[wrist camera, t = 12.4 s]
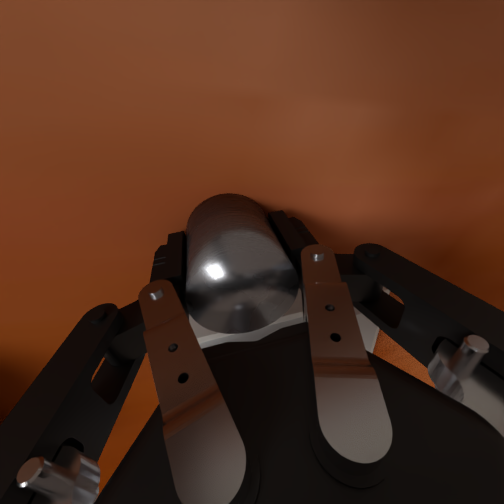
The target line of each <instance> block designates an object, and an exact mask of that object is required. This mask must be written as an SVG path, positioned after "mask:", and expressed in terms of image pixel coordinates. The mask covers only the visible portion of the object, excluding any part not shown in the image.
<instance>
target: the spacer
mask: <svg viewBox="0 0 504 504" xmlns="http://www.w3.org/2000/svg"><path fill="white" fill-rule="evenodd" d="M298 290H299V279H298V275H297V272H296V270H295V268H294V267H293V265H292V263H291V261H290V259H289V257H288V256H287V254H286V252H285V250H284V248H283V247H282V245H281V243H280V241H279V239H278V237H277V236H276V234H275V232H274V230H273V228H272V227H271V225H270V223H269V221H268V219H267V218H266V216H265V214H264V212H263V210H262V209H261V208H260V206H259V205H258V204H257V203H256V202H254V201H253V200H251V199H250V198H248V197H245V196H243V195H239V194H232V193H227V194H219V195H216V196H213V197H210V198H208V199H206V200H205V201H203V202H202V203H200V204H199V205H198V206H197V207H196V208H195V209H194V211H193V212H192V213H191V215H190V217H189V220H188V222H187V228H186V306H187V309H188V312H189V314H190V315H191V317H192V318H193V319H194V320H195V321H196V322H197V323H198V324H199V325H201V326H202V327H204V328H206V329H208V330H211V331H214V332H218V333H224V334H240V333H247V332H252V331H255V330H258V329H261V328H263V327H266V326H268V325H270V324H271V323H273V322H275V321H276V320H278V319H279V318H280V317H281V316H283V315H284V314H285V313H286V312H287V311H288V310H289V308H290V307H291V306H292V304H293V303H294V301H295V299H296V296H297V294H298Z"/></svg>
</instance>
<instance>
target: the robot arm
mask: <svg viewBox="0 0 504 504" xmlns="http://www.w3.org/2000/svg"><path fill="white" fill-rule="evenodd" d="M268 220H269V223H270V225H271V227H272V228H273V230H274V232H275V234H276V236H277V237H278V239H279V241H280V243H281V245H282V247H283V248H284V250H285V252H286V254H287V256H288V257H289V259H290V261H291V263H292V265H293V267H294V268H295V270H296V272H297V275H298V279H299V288H300V290H301V299H302V312H303V323H299V324H295V325H291V326H287V327H283V328H281V329H279V330H277V331H275V332H273V333H271V334H269V335H267V336H265V337H263V338H262V339H260V340H257V341H243V342H225V343H221V344H217V345H213V346H210V347H206V348H202V349H201V347H200V345H199V343H198V340H197V338H196V336H195V334H194V331H193V329H192V327H191V325H190V322H189V312H188V309H187V306H186V236H185V233H184V232H183V231H181V232H176V233H172V234H169V235H168V242H167V244H166V245H161V246H160V247H159V248H158V249H157V251H156V252H155V256H154V261H153V267H152V272H151V278H150V283H149V284H147V285H146V286H145V287H144V288H142V290H141V291H140V293H139V295H138V300H137V301H135V302H133V303H131V304H129V305H127V306H125V307H123V308H120V309H118V308H117V306H116V305H114V304H111V303H106V304H102V305H99V306H96V307H94V308H93V309H91V310H90V311H88V312H87V313H86V314H85V315H84V316H83V317H82V318H81V320H80V321H79V322H78V324H77V325H76V326H75V328H74V329H73V330H72V332H71V333H70V334H69V335H68V337H67V338H66V339H65V341H64V342H63V343H62V345H61V346H60V347H59V349H58V350H57V351H56V353H55V354H54V355H53V357H52V358H51V359H50V361H49V362H48V363H47V365H46V366H45V367H44V368H43V370H42V371H41V372H40V374H39V375H38V376H37V378H36V379H35V380H34V382H33V383H32V384H31V386H30V387H29V388H28V390H27V391H26V392H25V394H24V395H23V396H22V398H21V399H20V400H19V402H18V403H17V404H16V405H15V407H14V408H13V409H12V411H11V412H10V413H9V415H8V416H7V417H6V419H5V420H4V421H3V423H2V424H1V425H0V504H504V312H503V311H501V310H499V309H497V308H496V307H494V306H492V305H490V304H488V303H486V302H485V301H483V300H481V299H479V298H477V297H475V296H474V295H472V294H470V293H468V292H466V291H464V290H462V289H461V288H459V287H457V286H455V285H453V284H451V283H450V282H448V281H446V280H444V279H442V278H440V277H439V276H437V275H435V274H433V273H431V272H429V271H427V270H426V269H424V268H422V267H420V266H418V265H416V264H415V263H413V262H411V261H409V260H407V259H405V258H404V257H402V256H400V255H398V254H396V253H394V252H392V251H391V250H389V249H387V248H385V247H383V246H381V245H378V244H372V243H366V244H361V245H359V246H357V247H356V248H355V250H354V254H334V252H333V250H332V249H331V248H329V247H327V246H325V245H319V244H318V242H317V241H316V240H315V238H314V237H313V236H312V234H311V233H310V232H309V231H308V229H307V228H306V227H305V225H304V224H303V223H302V221H300V220H298V219H297V218H295V217H291V218H288V217H287V216H286V214H285V213H284V212H283V210H280V211H275V212H271V213H268ZM383 286H384V287H385V288H387V289H388V290H390V291H391V292H392V293H394V294H395V295H397V296H398V297H399V298H401V300H402V301H403V303H404V305H403V304H401V303H400V302H399V301H397V300H396V299H394V298H393V297H391V296H390V295H389V294H387V293H386V292H384V291H383ZM353 306H354V307H355V308H356V309H357V310H358V311H359V312H361V313H362V314H363V315H364V316H365V317H367V318H368V319H369V320H370V321H371V322H373V323H374V324H375V325H376V326H377V327H379V328H380V329H381V330H382V331H383V332H385V333H386V334H387V335H388V336H389V337H391V338H392V339H393V340H394V341H395V342H397V343H398V344H399V345H400V346H401V347H403V348H404V349H405V350H406V351H407V352H409V353H410V354H411V355H412V356H413V357H415V358H416V359H417V360H418V361H419V362H420V363H422V364H423V365H424V366H425V367H426V368H428V373H429V376H430V378H431V380H432V381H433V382H434V384H435V388H436V389H435V388H433V387H431V386H430V385H428V384H426V383H424V382H423V381H421V380H419V379H417V378H415V377H414V376H412V375H410V374H408V373H406V372H405V371H403V370H401V369H399V368H397V367H396V366H394V365H392V364H390V363H388V362H387V361H385V360H383V359H381V358H380V357H378V356H376V355H374V354H372V353H371V352H369V351H367V350H366V349H365V346H364V342H363V339H362V335H361V332H360V328H359V325H358V321H357V318H356V314H355V310H354V307H353ZM145 353H148V357H149V362H150V366H151V370H152V374H153V379H154V383H155V387H156V392H157V396H158V400H159V405H158V406H157V408H156V409H155V411H154V412H153V414H152V416H151V417H150V419H149V420H148V422H147V423H146V425H145V426H144V428H143V429H142V431H141V432H140V434H139V435H138V437H137V438H136V440H135V441H134V443H133V444H132V446H131V447H130V449H129V450H128V452H127V454H126V455H125V457H124V458H123V460H122V461H121V463H120V464H119V466H118V467H117V469H116V470H115V472H114V473H113V475H112V476H111V478H110V479H109V481H108V482H107V484H106V485H105V487H104V488H103V490H102V492H101V493H100V495H99V496H98V492H99V487H98V484H99V480H100V468H99V465H98V463H97V462H98V460H99V457H100V455H101V453H102V451H103V448H104V446H105V444H106V442H107V439H108V437H109V435H110V433H111V430H112V428H113V426H114V424H115V421H116V419H117V417H118V415H119V412H120V410H121V408H122V406H123V404H124V401H125V399H126V397H127V395H128V392H129V390H130V388H131V386H132V383H133V381H134V379H135V377H136V374H137V372H138V370H139V368H140V365H141V363H142V361H143V359H144V356H145ZM103 357H104V358H105V360H104V361H103V363H102V365H101V367H100V368H99V370H98V372H97V374H96V375H95V377H94V379H93V381H92V382H91V379H92V376H93V374H94V372H95V370H96V369H97V367H98V365H99V363H100V362H101V360H102V358H103ZM97 496H98V498H97ZM96 498H97V499H96ZM95 500H96V501H95Z"/></svg>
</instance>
